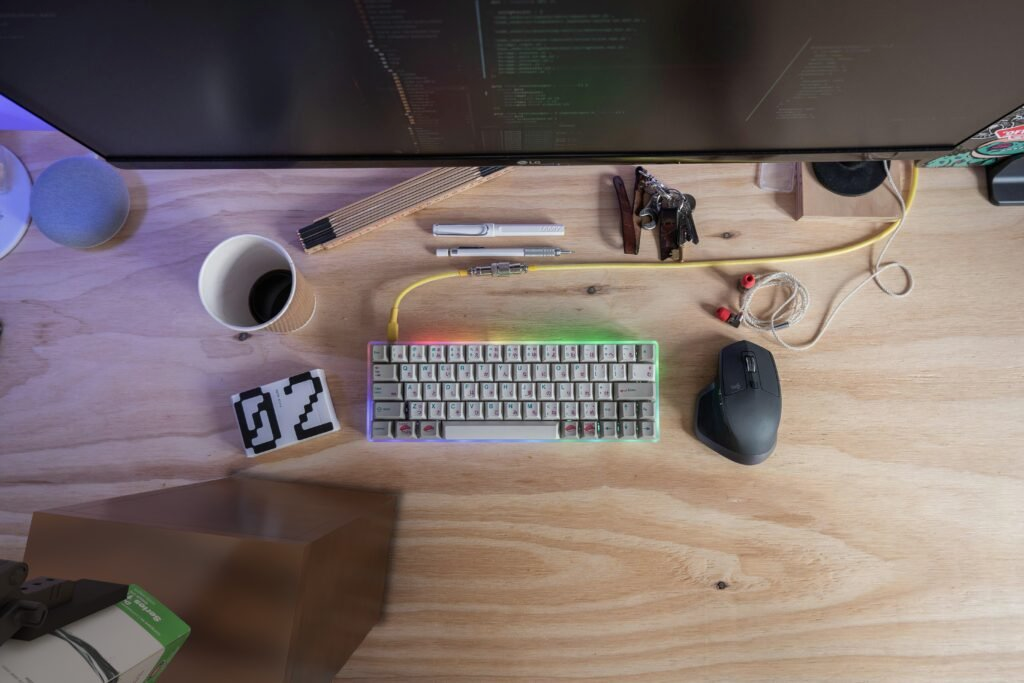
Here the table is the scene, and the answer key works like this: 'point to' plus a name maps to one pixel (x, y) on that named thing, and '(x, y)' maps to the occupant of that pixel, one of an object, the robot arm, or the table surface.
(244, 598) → the shelf
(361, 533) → the shelf stand
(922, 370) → the table surface
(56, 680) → the ink box
